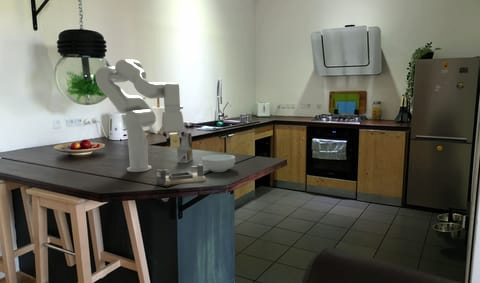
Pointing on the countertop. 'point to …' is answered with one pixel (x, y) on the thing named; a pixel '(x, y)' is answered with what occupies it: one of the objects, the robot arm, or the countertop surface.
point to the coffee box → (185, 149)
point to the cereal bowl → (218, 162)
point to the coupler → (174, 140)
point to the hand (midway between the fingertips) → (173, 145)
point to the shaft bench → (180, 176)
